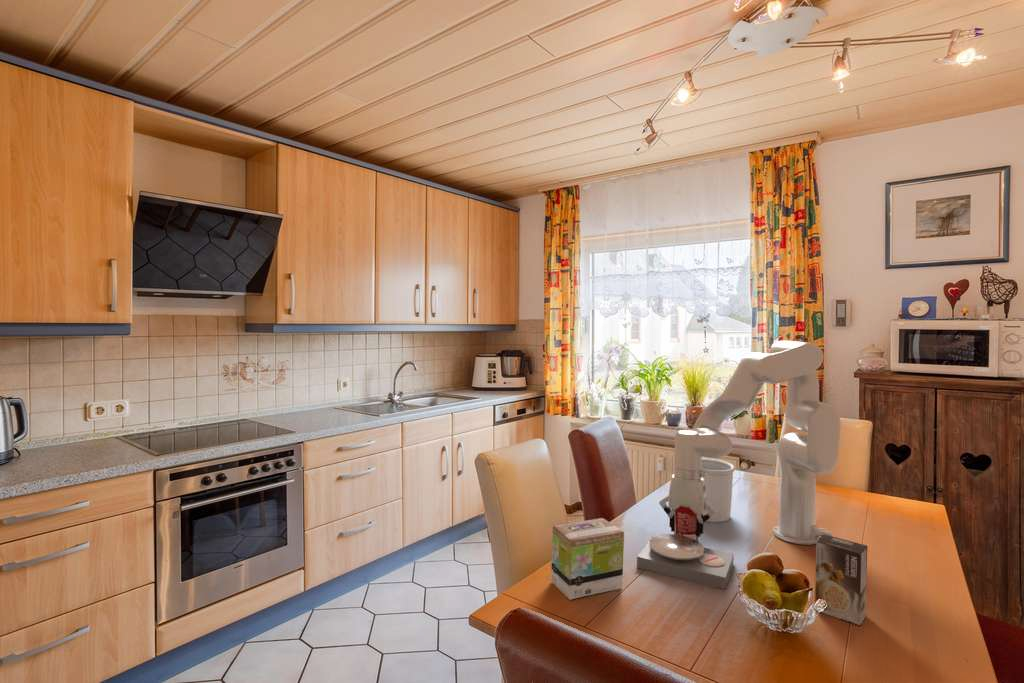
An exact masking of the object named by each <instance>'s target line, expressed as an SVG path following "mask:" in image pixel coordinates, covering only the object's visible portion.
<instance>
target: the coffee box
mask: <svg viewBox="0 0 1024 683" xmlns="http://www.w3.org/2000/svg"><path fill="white" fill-rule="evenodd" d="M815 545H816V546H815V585H814V588H815V590H814V592H815V593H814V603H815V602H816V601H817V600H818V599H823V600H825V601H826V603H827V607H826V608H825V609H824V611H823V612H821V613H822V614H825V615H827V616H830V617H832V618H836V619H839V620H841V619H843V621H844V620H846V621H845V622H847V621H850V622H853V623H855V624H858V625H860V624H861V623H862V624H863V622H864V621H863V620H865V619H866V617H867V605H866V604H867V574H868V573H867V571H868V545H866V544H864V543H863V544H862V543H858V542H855V541H851V540H848V539H844V538H839V537H836V536H833V535H832V536H829V535H825V534H824V535H822V536H820V538H819V540H818V541H817V542H816V544H815ZM865 616H866V617H865ZM864 618H865V619H864ZM862 621H863V622H862ZM850 622H849V623H850ZM853 623H852V624H853ZM855 624H854V625H855ZM862 624H861V625H862ZM858 625H857V626H858Z"/></svg>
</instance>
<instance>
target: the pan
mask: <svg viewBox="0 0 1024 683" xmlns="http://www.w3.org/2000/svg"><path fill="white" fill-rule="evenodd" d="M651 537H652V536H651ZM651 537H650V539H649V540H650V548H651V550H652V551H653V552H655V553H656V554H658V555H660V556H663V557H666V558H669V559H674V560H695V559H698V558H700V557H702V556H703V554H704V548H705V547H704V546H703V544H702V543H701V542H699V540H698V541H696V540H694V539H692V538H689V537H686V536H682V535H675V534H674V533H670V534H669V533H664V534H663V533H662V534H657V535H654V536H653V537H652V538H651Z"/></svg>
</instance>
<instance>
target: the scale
mask: <svg viewBox="0 0 1024 683" xmlns="http://www.w3.org/2000/svg"><path fill="white" fill-rule="evenodd" d="M652 537H654V536H651V537H650V539H651V538H652ZM650 539H648V542H646V544H645V545H644V546H643V548H642V549H641V551H640V552H639V553H638V555H637V557H636V568H637V569H640V568H641V570H644V569H645V570H646V571H648V570H649V571H650V572H653V573H658V574H661V575H665V576H669V577H674V578H676V579H677V578H678V579H681V580H685V581H689V582H693V583H696V584H697V583H698V584H701V583H702V585H705V584H706V585H705V586H709V585H710V587H713V588H717V587H718V588H717V589H721V588H722V589H721V590H726V589H725V588H727V586H728V583H727V582H729V580H728V579H730V577H729V576H731V574H730V573H732V570H733V568H734V558H735V557H734V556H735V555H734V554H735V553H732V552H726V551H721V550H718V549H713V548H708V547H704V554H703V556H702V557H700V558H698V559H695V560H674V559H669V558H666V557H663V556H660V555H658V554H656V553H655V552H653V551H652V550H651V548H650ZM732 567H733V568H732ZM649 571H648V572H649ZM726 585H727V586H726Z"/></svg>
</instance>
